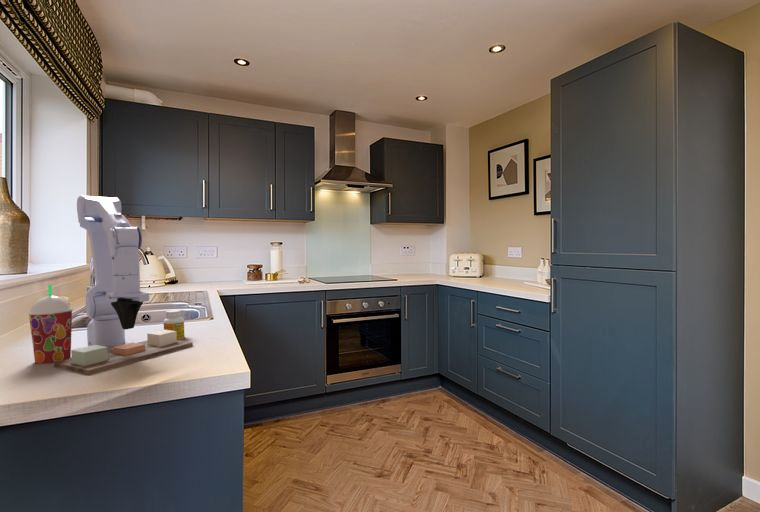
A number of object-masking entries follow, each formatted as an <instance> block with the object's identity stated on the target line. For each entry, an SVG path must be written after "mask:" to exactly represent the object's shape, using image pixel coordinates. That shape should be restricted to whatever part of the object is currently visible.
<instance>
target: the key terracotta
mask: <svg viewBox="0 0 760 512" xmlns="http://www.w3.org/2000/svg"><path fill="white" fill-rule="evenodd" d="M112 349H113V354H118V355H124V356H125V355H129V354H133V353H137V352H141V351H145V344H139V342H129V343H124V344H121V345H118V346H113V347H112Z"/></svg>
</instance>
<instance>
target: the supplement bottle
mask: <svg viewBox="0 0 760 512" xmlns="http://www.w3.org/2000/svg"><path fill="white" fill-rule="evenodd" d="M165 316H166V318H165V319H164V320H163V330H171V331H176V333H177V340H180V341H181V340H182V339H185V318H184V317H182V310H180V309H172V310H171V309H170V310H167V311H166V310H165Z"/></svg>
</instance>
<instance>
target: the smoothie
mask: <svg viewBox="0 0 760 512" xmlns="http://www.w3.org/2000/svg"><path fill="white" fill-rule="evenodd" d="M52 286H53V285H52V284H48V292H47V293H48V295H45V296H43V297H41V298H39V299H37V300H36V301H35V302H34V303H33V305H32V306H31V308H30V311H28V313H27V314H28V317H29V318H28V319H29V325H30V333H31V334H30V335H31V342H32V348H33V356H34V357H33V358H34V363H35V364H36V365H45V364H54V362H58V361H62V360H66V359H71V358H72V351H71V350H72V328H73V327H72V326H73V309H74V308H73V307H72V306H71V305H70V303H69V302H68V301H67V300H66V299H65V298H63V297H61V296H57V295H53V287H52Z"/></svg>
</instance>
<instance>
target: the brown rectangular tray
mask: <svg viewBox="0 0 760 512" xmlns="http://www.w3.org/2000/svg"><path fill="white" fill-rule="evenodd" d="M138 343H139V344H145V351H141V352H137V353H133V354H129V355H125V356H124V355H118V354H113V348H109V349H107V350H108V360H106V361H102V362H98V363H94V364H90V365H87V366H80V365H76V364H72V357H71V358H69V359H66V360H62V361H58V362H54V363H53V367H54V368H57V369H61V370H65V371H69V372H73V373H78V374H83V375H86V376H91V375H93V374H94V375H95V374H97V373H101V372H105V371H108V370H113V369H115V368H119V367H123V366H125V365H126V366H127V365H130V364H134V363H136V362H137V363H138V362H140V361H141V362H142V361H144V360H147V359H152V358H155V357H159V356H162V355H166V354H170V353H173V352H176V351H181V350H184V349H187V348H191V347H193V346H194V344H193V343H194V342H192V341H186V340H181V339H180V340H177V342H176V343H172V344H168V345H164V346H160V347H158V346H152V345H148V339H147V340H143V341H140V342H138Z"/></svg>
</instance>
